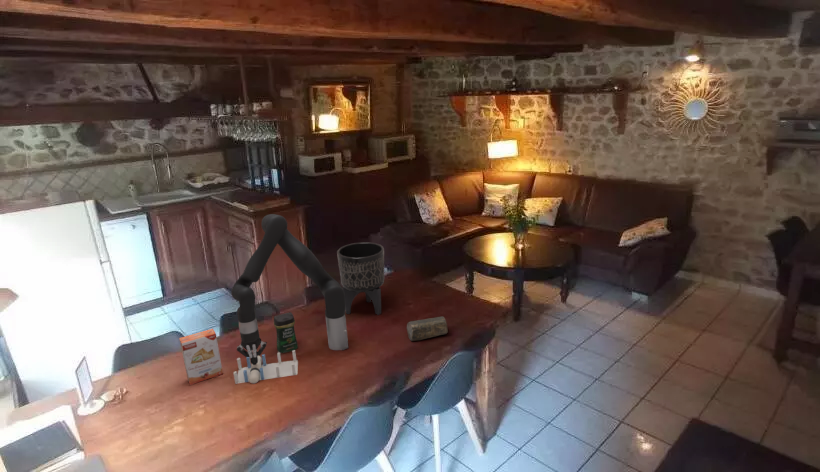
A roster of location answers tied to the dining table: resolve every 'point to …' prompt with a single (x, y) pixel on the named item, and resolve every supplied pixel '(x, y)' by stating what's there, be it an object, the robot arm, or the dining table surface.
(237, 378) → the white pegged rack
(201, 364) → the cracker box
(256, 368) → the banded cream tube
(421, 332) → the stone block
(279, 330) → the coffee jar
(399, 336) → the dining table surface
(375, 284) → the planter
